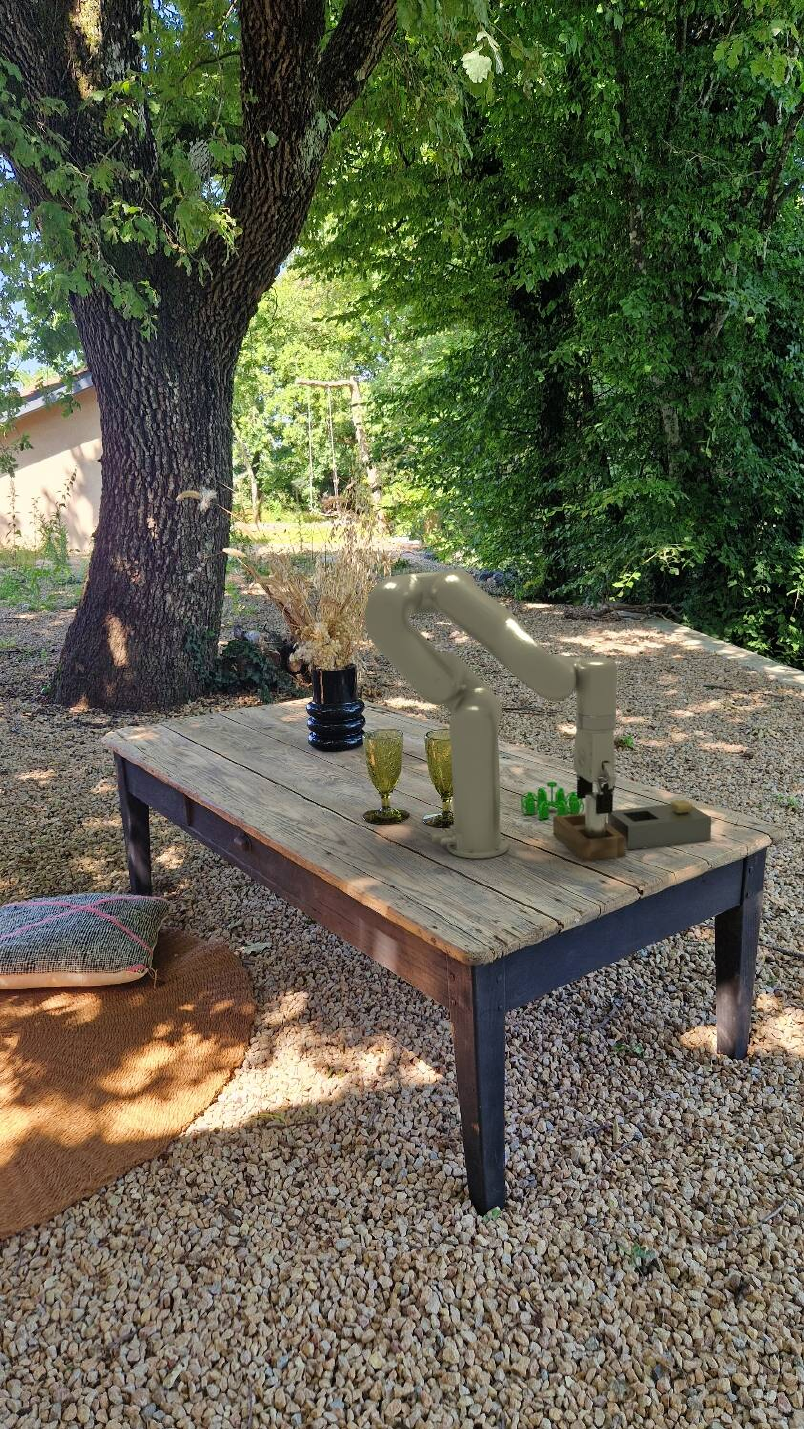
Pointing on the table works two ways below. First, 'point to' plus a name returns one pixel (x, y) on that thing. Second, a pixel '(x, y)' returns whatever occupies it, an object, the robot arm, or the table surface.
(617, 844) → the frame
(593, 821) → the grey tall cylinder
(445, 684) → the robot arm
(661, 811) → the socket block
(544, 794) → the chandelier
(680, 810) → the release key
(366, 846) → the table surface
